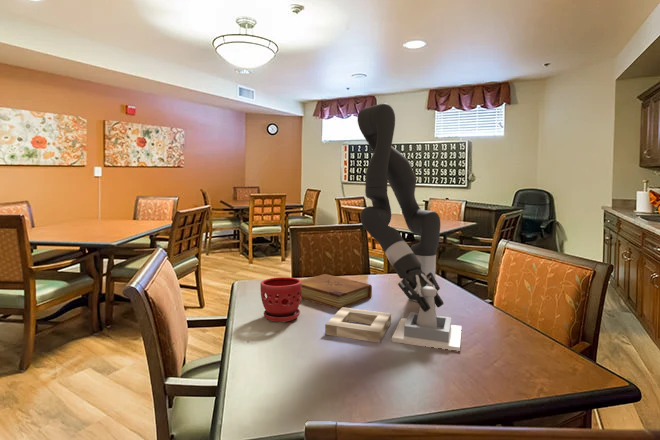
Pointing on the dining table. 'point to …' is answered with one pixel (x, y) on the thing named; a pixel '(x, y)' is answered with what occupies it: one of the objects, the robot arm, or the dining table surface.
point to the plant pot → (281, 298)
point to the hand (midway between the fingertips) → (434, 307)
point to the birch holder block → (356, 331)
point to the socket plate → (428, 333)
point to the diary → (335, 291)
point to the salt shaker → (429, 316)
